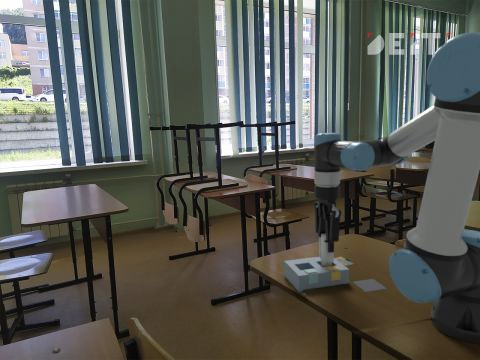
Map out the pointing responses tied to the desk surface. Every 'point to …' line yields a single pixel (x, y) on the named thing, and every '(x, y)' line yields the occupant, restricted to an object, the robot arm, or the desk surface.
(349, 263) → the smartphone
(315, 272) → the socket block
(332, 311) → the desk surface
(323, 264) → the plug
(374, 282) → the mat
